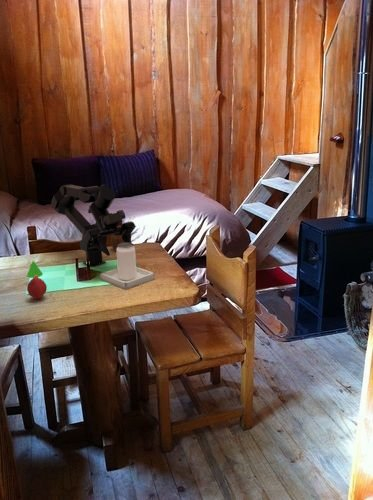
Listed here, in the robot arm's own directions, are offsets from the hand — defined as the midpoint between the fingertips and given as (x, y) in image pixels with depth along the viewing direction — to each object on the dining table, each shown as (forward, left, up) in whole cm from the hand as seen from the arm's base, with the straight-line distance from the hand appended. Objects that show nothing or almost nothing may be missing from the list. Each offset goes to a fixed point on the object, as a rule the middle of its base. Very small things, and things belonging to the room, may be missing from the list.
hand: (120, 252), depth 162 cm
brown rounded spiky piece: (-25, +19, -9) cm, 33 cm away
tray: (+4, 0, -9) cm, 10 cm away
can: (+4, 0, -9) cm, 9 cm away
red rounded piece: (-4, -30, -9) cm, 32 cm away
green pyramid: (-25, -20, -9) cm, 34 cm away
